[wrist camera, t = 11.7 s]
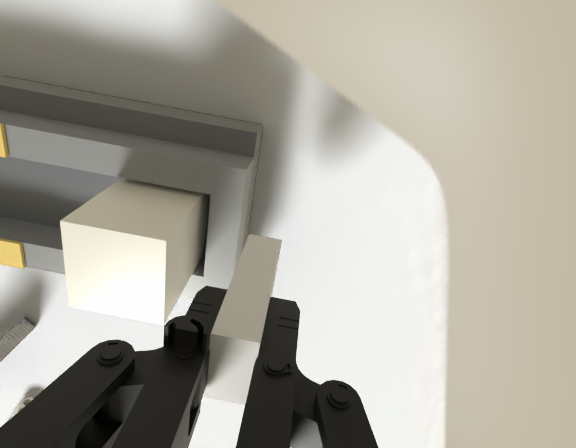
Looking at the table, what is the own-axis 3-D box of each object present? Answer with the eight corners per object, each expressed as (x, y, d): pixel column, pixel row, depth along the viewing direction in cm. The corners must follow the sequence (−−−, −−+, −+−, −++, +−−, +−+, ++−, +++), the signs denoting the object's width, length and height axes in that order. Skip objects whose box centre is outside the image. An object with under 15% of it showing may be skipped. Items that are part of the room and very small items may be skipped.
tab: (133, 239, 22) (68, 306, 16) (132, 170, 20) (59, 220, 14) (204, 252, 22) (163, 324, 16) (209, 185, 20) (166, 241, 14)
